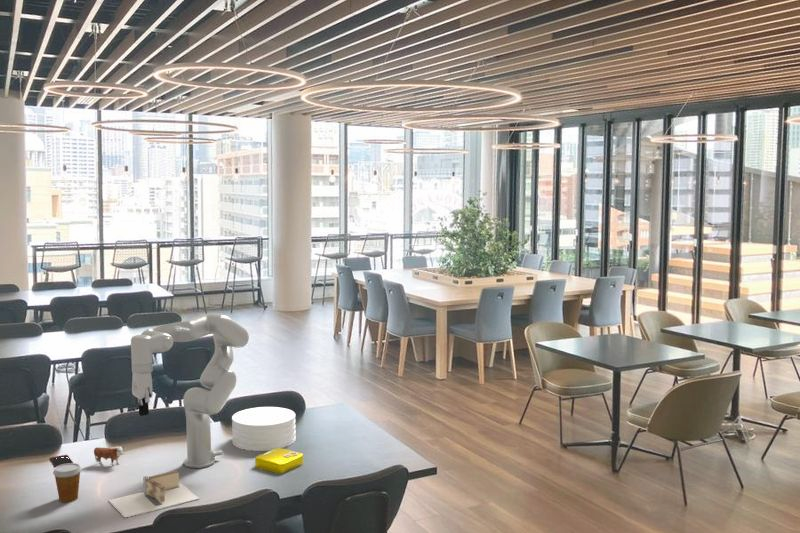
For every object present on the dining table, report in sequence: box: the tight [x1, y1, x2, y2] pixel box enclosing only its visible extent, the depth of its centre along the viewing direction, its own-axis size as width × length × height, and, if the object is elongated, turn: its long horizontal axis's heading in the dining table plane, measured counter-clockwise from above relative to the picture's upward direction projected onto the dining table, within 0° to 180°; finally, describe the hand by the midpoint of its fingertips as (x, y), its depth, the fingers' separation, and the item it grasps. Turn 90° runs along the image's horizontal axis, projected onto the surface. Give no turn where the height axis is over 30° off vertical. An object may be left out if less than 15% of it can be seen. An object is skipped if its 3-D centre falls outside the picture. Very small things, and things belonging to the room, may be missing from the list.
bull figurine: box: [93, 446, 125, 467], centre depth 323 cm, size 4×13×8 cm, turn 79°
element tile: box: [254, 448, 304, 474], centre depth 324 cm, size 15×15×5 cm
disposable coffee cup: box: [52, 462, 82, 503], centre depth 288 cm, size 10×10×12 cm
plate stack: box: [231, 406, 297, 452], centre depth 354 cm, size 28×28×12 cm
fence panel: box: [146, 478, 165, 502], centre depth 288 cm, size 11×1×6 cm, turn 46°
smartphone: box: [49, 454, 74, 468], centre depth 326 cm, size 7×1×15 cm
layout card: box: [108, 470, 200, 519], centre depth 288 cm, size 27×18×7 cm, turn 127°
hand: (143, 414), depth 301 cm, fingers closed
